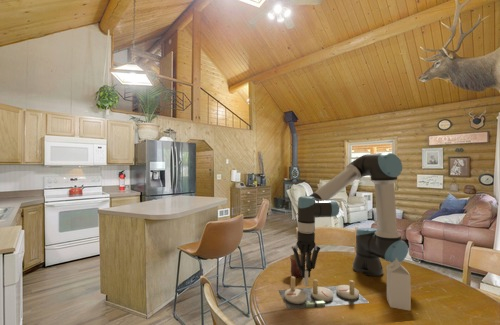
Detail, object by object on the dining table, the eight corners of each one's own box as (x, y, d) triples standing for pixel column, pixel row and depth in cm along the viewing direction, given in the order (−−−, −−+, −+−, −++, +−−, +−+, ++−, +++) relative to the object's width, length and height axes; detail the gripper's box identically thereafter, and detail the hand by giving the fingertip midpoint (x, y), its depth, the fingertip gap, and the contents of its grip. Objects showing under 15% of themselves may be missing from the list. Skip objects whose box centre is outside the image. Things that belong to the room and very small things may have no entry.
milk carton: (405, 304, 101) (405, 258, 101) (410, 313, 94) (410, 265, 95) (386, 300, 103) (386, 256, 104) (390, 310, 97) (390, 262, 97)
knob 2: (351, 287, 111) (351, 272, 111) (363, 298, 102) (363, 281, 102) (332, 289, 110) (332, 273, 110) (343, 300, 101) (343, 283, 101)
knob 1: (301, 291, 108) (301, 275, 108) (310, 303, 99) (310, 285, 99) (282, 292, 106) (282, 276, 106) (288, 304, 97) (288, 287, 97)
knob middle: (307, 292, 107) (307, 276, 107) (324, 288, 110) (324, 273, 110) (319, 303, 98) (319, 285, 99) (337, 299, 101) (337, 282, 101)
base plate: (349, 287, 114) (349, 282, 114) (369, 305, 100) (369, 299, 100) (278, 292, 109) (278, 287, 109) (288, 312, 94) (288, 306, 94)
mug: (289, 272, 130) (289, 253, 130) (306, 274, 128) (306, 254, 129) (288, 282, 118) (289, 262, 119) (307, 284, 117) (307, 263, 117)
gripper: (316, 228, 112) (315, 279, 111) (289, 229, 110) (288, 281, 109) (323, 233, 105) (323, 287, 104) (294, 234, 103) (294, 289, 102)
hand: (305, 284), depth 107 cm, fingers closed
